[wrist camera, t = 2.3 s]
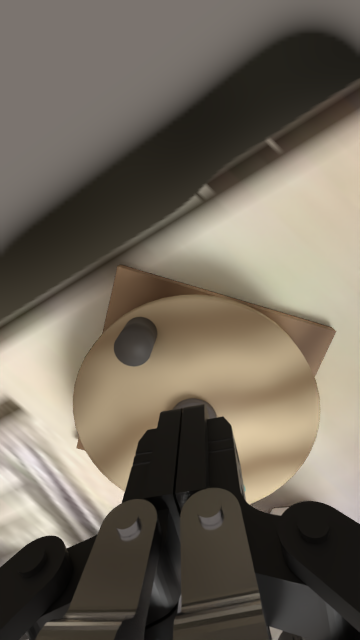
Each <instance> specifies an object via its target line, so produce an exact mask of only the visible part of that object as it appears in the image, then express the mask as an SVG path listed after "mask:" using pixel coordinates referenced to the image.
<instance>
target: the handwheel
mask: <svg viewBox="0 0 360 640" xmlns="http://www.w3.org/2000/svg"><path fill="white" fill-rule="evenodd" d="M200 404H206V407H207V410H208V414H209V418H210V419H211V418H217V417H223V416H224V418H225V419H226V420H227V421H228V422H229V423H230V424H231V426H232V431H233V435H234V439H235V443H236V447H237V452H238V456H239V460H240V464H241V471H242V478H243V484H244V491H245V497H246V502H247V503H248V504H251V503H254V502H256V501H258V500H261V499H262V498H264V497H266V496H268V495H270V494H271V493H273V492H274V491H276V490H277V489H278V488H280V487H281V486H282V485H284V484H285V483H286V482H287V481H288V480H289V479H290V478H291V477H292V476H293V475H294V474H295V473H296V472H297V471H298V469H299V468H300V467H301V466H302V464H303V463H304V461H305V460H306V458H307V456H308V455H309V453H310V451H311V449H312V446H313V444H314V441H315V439H316V435H317V431H318V427H319V420H320V398H319V393H318V388H317V384H316V380H315V378H314V375H313V373H312V370H311V368H310V366H309V364H308V363H307V361H306V359H305V357H304V356H303V354H302V353H301V351H300V350H299V348H298V347H297V345H296V344H295V343H294V342H293V340H292V339H291V338H290V337H289V335H288V334H287V333H286V332H285V331H284V330H283V329H282V328H281V327H279V326H278V325H277V324H276V323H275V322H274V321H272V320H271V319H269V318H268V317H267V316H265V315H264V314H262V313H260V312H258V311H257V310H255V309H253V308H251V307H249V306H247V305H244V304H241V303H239V302H236V301H233V300H230V299H225V298H221V297H216V296H208V295H179V296H172V297H166V298H162V299H159V300H155V301H152V302H149V303H146V304H144V305H142V306H140V307H137V308H135V309H133V310H132V311H130V312H128V313H127V314H125V315H124V316H122V317H120V318H119V319H118V320H117V321H116V322H114V323H113V324H112V325H111V326H110V327H109V328H108V329H107V330H106V331H105V332H104V333H103V334H102V335H101V336H100V338H99V339H98V340H97V341H96V342H95V344H94V345H93V346H92V348H91V349H90V351H89V352H88V354H87V355H86V357H85V359H84V361H83V363H82V365H81V367H80V369H79V372H78V375H77V379H76V382H75V387H74V395H73V414H74V419H75V425H76V429H77V432H78V435H79V438H80V440H81V442H82V444H83V447H84V449H85V451H86V452H87V454H88V455H89V457H90V459H91V460H92V462H93V463H94V464H95V465H96V467H97V468H98V469H99V470H100V471H101V472H102V473H103V474H104V475H105V476H106V477H107V478H108V479H109V480H110V481H111V482H112V483H114V484H115V485H116V486H118V487H119V488H120V489H122V490H123V491H125V490H126V486H127V482H128V479H129V475H130V471H131V467H132V466H133V460H134V456H136V455H135V453H136V449H137V445H138V442H139V440H140V439H141V438H142V436H143V435H144V434H145V432H146V431H147V430H149V429H155V428H157V426H158V421H159V416H160V412H162V411H168V410H173V409H179V408H184V407H189V406H195V405H200Z"/></svg>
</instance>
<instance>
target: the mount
mask: <svg viewBox="0 0 360 640" xmlns="http://www.w3.org/2000/svg"><path fill="white" fill-rule="evenodd" d="M179 295H208V296H216V297H221V298H225V299H230V300H233V301H236V302H239V303H241V304H244V305H247V306H249V307H251V308H253V309H255V310H257V311H258V312H260V313H262V314H264V315H265V316H267V317H268V318H269V319H271V320H272V321H274V322H275V323H276V324H277V325H278V326H279V327H281V328H282V329H283V330H284V331H285V332H286V333H287V334H288V335H289V337H290V338H291V339H292V340H293V342H294V343H295V344H296V345H297V347H298V348H299V350H300V351H301V353H302V354H303V356H304V357H305V359H306V361H307V363H308V364H309V366H310V368H311V370H312V373H313V375H314V377H315V375H316V373H317V371H318V369H319V367H320V364H321V362H322V360H323V358H324V356H325V354H326V352H327V350H328V348H329V345H330V343H331V341H332V339H333V337H334V335H335V333H336V331H335V330H334V329H333V328H332V327H329V326H325V325H322V324H319V323H315V322H312V321H309V320H305V319H302V318H298V317H295V316H292V315H288V314H285V313H282V312H278V311H275V310H272V309H268V308H265V307H261V306H258V305H255V304H251V303H248V302H245V301H241V300H238V299H235V298H231V297H228V296H224V295H221V294H218V293H214V292H211V291H208V290H204V289H201V288H198V287H194V286H191V285H188V284H184V283H181V282H177V281H174V280H171V279H167V278H164V277H161V276H157V275H154V274H151V273H147V272H144V271H140V270H137V269H134V268H130V267H127V266H124V265H119V266H118V267H117V271H116V276H115V280H114V285H113V289H112V293H111V298H110V302H109V307H108V311H107V315H106V320H105V324H104V329H103V333H104V332H105V331H106V330H107V329H108V328H109V327H110V326H111V325H112V324H113V323H114V322H116V321H117V320H118V319H119V318H120V317H122V316H124V315H125V314H127V313H128V312H130V311H132V310H133V309H135V308H137V307H140V306H142V305H144V304H146V303H149V302H152V301H155V300H159V299H162V298H166V297H172V296H179ZM103 333H102V334H103ZM77 448H78V449H82V450H85V449H84V447H83V444H82V442H81V440H80V438H79V439H78V443H77Z"/></svg>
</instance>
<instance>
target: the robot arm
mask: <svg viewBox="0 0 360 640" xmlns="http://www.w3.org/2000/svg"><path fill="white" fill-rule="evenodd" d="M135 455H136V456H134V460H133V466H132V467H131V471H130V475H129V479H128V482H127V486H126V490H125V493H124V497H123V501H122V504H120V505H118V506H117V507H115V508H114V509H113V510H112V511H111V512H110V513H109V514H108V515H107V516H106V518H105V519H104V521H103V523H102V525H101V527H100V530H99V532H98V534H97V535H96V536H94V537H92V538H90V539H87V540H85V541H83V542H81V543H78V544H76V545H74V546H72V547H69V548H67V549H66V546H65V544H64V542H63V541H62V540H61V539H60V538H59V537H56V536H45V537H41V538H38V539H36V540H34V541H32V542H31V543H29V544H27V545H26V546H25V547H23V548H22V549H21V550H20V551H19V552H18V553H16V554H15V555H14V556H13V557H12V558H11V559H9V560H8V561H7V562H6V563H5V564H4V565H3V566H1V567H0V640H19V639H20V638H21V637H22V636H23V635H24V634H25V633H26V635H27V637H28V638H29V640H272V636H271V632H270V627H272V628H276V629H279V630H282V631H285V632H288V633H292V634H295V635H298V636H301V637H302V639H303V640H360V524H359V523H357V522H355V521H354V520H352V519H351V518H349V517H347V516H346V515H344V514H343V513H341V512H339V511H338V510H336V509H335V508H333V507H331V506H329V505H326V504H324V503H320V502H314V501H305V502H299V503H296V504H294V505H292V506H290V507H289V508H288V509H286V510H285V511H284V512H283V514H282V515H281V516H280V515H274V514H269V513H264V512H261V511H259V510H257V509H255V508H253V507H252V506H251V505H249V504H248V503H247V502H246V497H245V491H244V484H243V478H242V471H241V464H240V460H239V456H238V452H237V447H236V443H235V439H234V435H233V431H232V426H231V424H230V423H229V422H228V421H227V420H226V419H225V418H224V416H223V417H217V418H211V419H210V418H209V414H208V410H207V407H206V404H200V405H195V406H189V407H184V408H179V409H173V410H168V411H162V412H160V416H159V421H158V426H157V428H155V429H149V430H147V431H146V432H145V434H144V435H143V436H142V438H141V439H140V440H139V442H138V445H137V449H136V453H135Z"/></svg>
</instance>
